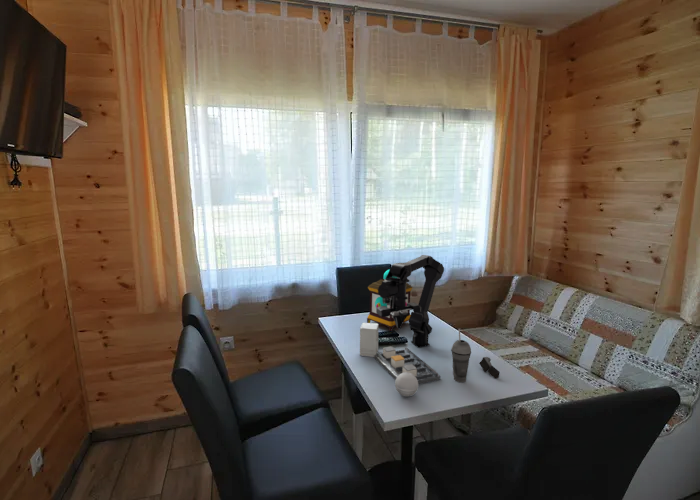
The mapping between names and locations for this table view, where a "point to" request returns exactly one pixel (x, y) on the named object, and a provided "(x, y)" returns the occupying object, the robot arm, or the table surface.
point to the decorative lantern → (377, 302)
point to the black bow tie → (489, 367)
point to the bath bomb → (406, 384)
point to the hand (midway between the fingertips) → (398, 328)
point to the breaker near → (410, 369)
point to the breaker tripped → (397, 361)
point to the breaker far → (388, 352)
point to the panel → (423, 369)
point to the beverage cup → (460, 359)
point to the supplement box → (368, 339)
